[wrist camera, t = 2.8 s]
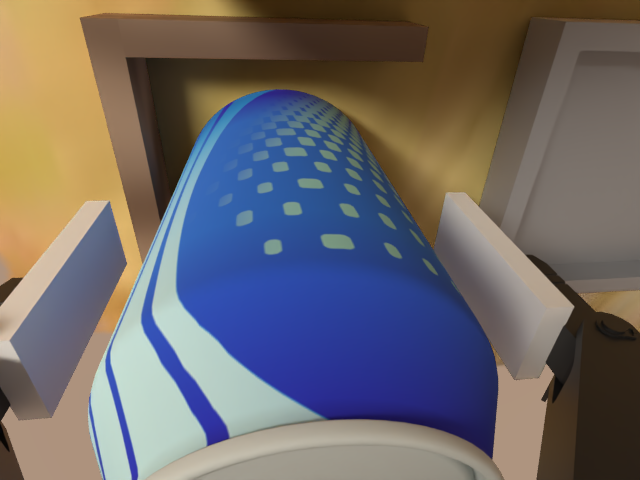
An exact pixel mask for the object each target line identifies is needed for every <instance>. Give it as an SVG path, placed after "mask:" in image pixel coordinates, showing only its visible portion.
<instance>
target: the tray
mask: <svg viewBox="0 0 640 480" xmlns="http://www.w3.org/2000/svg"><path fill="white" fill-rule="evenodd" d="M479 208H480V209H481V210H482V211H483V212H484V213H485V214H486V215H487V216H488V217H489V218H490V219H491V220H492V221H493V222H494V223H495V224H496V225H497V226H498V227H499V228H500V229H501V230H502V232H503V233H504V234H505V235H506V236H507V237H508V238H509V239H510V240H511V241H512V242H513V243H514V244H515V245H516V246H517V247H518V248H519V249H520V250H521V251H522V252H523V253H524V254H525V255H534V256H535V257H537V258H539V259H540V260H542V261H544V262H545V263H547V264H548V265H549V266H550V267H551V268H552V269H553V270H554V271H555V272H556V273H557V276H560V277H561V278H562V279H563V280H564V281H565V284H568V285H569V286H570V287H571V288H572V289H573V290H574V291H575V292H576V293H592V292H610V291H628V290H640V20H609V19H576V18H543V17H531V21H530V24H529V28H528V32H527V35H526V39H525V42H524V46H523V50H522V53H521V57H520V60H519V64H518V68H517V71H516V75H515V78H514V82H513V86H512V89H511V93H510V97H509V100H508V104H507V107H506V111H505V115H504V118H503V122H502V125H501V129H500V133H499V136H498V140H497V143H496V147H495V151H494V154H493V158H492V162H491V165H490V169H489V172H488V176H487V180H486V183H485V187H484V190H483V194H482V198H481V201H480V205H479Z"/></svg>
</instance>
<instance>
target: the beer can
mask: <svg viewBox="0 0 640 480" xmlns="http://www.w3.org/2000/svg"><path fill="white" fill-rule="evenodd" d="M497 398H498V374H497V367H496V361H495V356H494V353H493V350H492V347H491V345H490V342H489V340H488V338H487V336H486V334H485V332H484V330H483V328H482V326H481V325H480V323H479V321H478V320H477V318H476V317H475V315H474V313H473V312H472V310H471V309H470V307H469V306H468V304H467V302H466V301H465V299H464V298H463V296H462V295H461V293H460V291H459V290H458V288H457V287H456V285H455V283H454V282H453V280H452V279H451V277H450V276H449V274H448V272H447V271H446V269H445V268H444V266H443V264H442V263H441V261H440V260H439V258H438V257H437V255H436V253H435V252H434V250H433V249H432V247H431V246H430V244H429V242H428V241H427V239H426V238H425V236H424V234H423V233H422V231H421V230H420V228H419V227H418V225H417V223H416V222H415V220H414V219H413V217H412V216H411V214H410V212H409V211H408V209H407V208H406V206H405V204H404V203H403V201H402V200H401V198H400V197H399V195H398V193H397V192H396V190H395V189H394V187H393V186H392V184H391V182H390V181H389V179H388V178H387V176H386V174H385V173H384V171H383V170H382V168H381V167H380V165H379V163H378V162H377V160H376V159H375V157H374V155H373V154H372V152H371V151H370V149H369V148H368V146H367V144H366V143H365V141H364V140H363V138H362V137H361V135H360V133H359V132H358V130H357V129H356V127H355V126H354V125H353V123H352V122H351V121H350V120H349V119H348V118H347V117H346V116H345V115H344V114H343V113H342V112H341V111H340V110H338V109H337V108H336V107H334V106H333V105H331V104H330V103H328V102H326V101H325V100H323V99H320V98H318V97H316V96H313V95H310V94H307V93H304V92H299V91H294V90H282V89H275V90H265V91H260V92H255V93H252V94H249V95H246V96H243V97H241V98H239V99H237V100H235V101H233V102H231V103H229V104H228V105H226V106H225V107H224V108H222V109H221V110H220V111H218V112H217V113H216V114H215V115H214V116H213V117H212V118H211V119H210V120H209V121H208V122H207V124H206V125H205V127H204V128H203V129H202V131H201V133H200V134H199V136H198V138H197V140H196V142H195V145H194V147H193V149H192V152H191V154H190V156H189V159H188V161H187V163H186V166H185V168H184V170H183V173H182V175H181V177H180V179H179V182H178V184H177V186H176V189H175V191H174V193H173V196H172V198H171V200H170V203H169V205H168V207H167V210H166V212H165V214H164V217H163V219H162V221H161V224H160V226H159V228H158V230H157V233H156V235H155V237H154V240H153V242H152V244H151V247H150V249H149V251H148V254H147V256H146V258H145V261H144V263H143V265H142V268H141V270H140V272H139V274H138V277H137V279H136V281H135V284H134V286H133V288H132V291H131V293H130V295H129V298H128V300H127V302H126V305H125V307H124V309H123V312H122V314H121V316H120V319H119V321H118V323H117V325H116V328H115V330H114V332H113V335H112V337H111V340H110V342H109V344H108V347H107V349H106V351H105V353H104V356H103V358H102V360H101V363H100V365H99V367H98V370H97V372H96V374H95V379H94V382H93V386H92V389H91V393H90V397H89V408H88V422H89V433H90V438H91V441H92V445H93V448H94V452H95V455H96V459H97V462H98V466H99V469H100V473H101V476H102V479H103V480H504V478H503V476H502V474H501V472H500V470H499V469H498V467H497V466H496V464H495V463H494V462H493V460H492V457H493V445H494V433H495V422H496V410H497Z"/></svg>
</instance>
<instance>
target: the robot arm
mask: <svg viewBox="0 0 640 480" xmlns="http://www.w3.org/2000/svg"><path fill="white" fill-rule="evenodd" d="M434 252H435V253H436V255H437V257H438V258H439V260H440V261H441V263H442V264H443V266H444V268H445V269H446V271H447V272H448V274H449V276H450V277H451V279H452V280H453V282H454V283H455V285H456V287H457V288H458V290H459V291H460V293H461V295H462V296H463V298H464V299H465V301H466V302H467V304H468V306H469V307H470V309H471V310H472V312H473V313H474V315H475V317H476V318H477V320H478V321H479V323H480V325H481V326H482V328H483V330H484V332H485V334H486V336H487V337H488V339H489V341H490V342H491V344H492V345H493V347H494V348H495V350H496V352H497V353H498V355H499V356H500V358H501V360H502V361H503V363H504V364H505V366H506V367H507V369H508V371H509V372H510V374H511V375H512V377H513V379H514V380H520V379H532V378H539V377H540V375H541V373H542V371H543V369H544V367H545V365H546V363H547V365H548V366H549V367H550V369H551V370H552V372H553V373H554V376H553V378H552V380H551V382H550V384H549V386H548V388H547V390H546V392H545V393H544V395H543V397H542V399H541V400H542V401H544V402H545V401H546V400H547V398H548V401H547V408H546V415H545V423H544V430H543V437H542V444H541V451H540V459H539V465H538V473H537V480H640V333H639V332H638V331H637V330H636V329H635V328H634V327H633V326H632V325H631V324H630V323H628V322H626V321H625V320H623V319H621V318H619V317H617V316H614V315H612V314H608V313H604V312H595V311H594V310H593V309H592V308H591V307H590V306H589V305H588V304H587V303H586V302H585V301H584V300H583V299H582V298H581V297H580V296H579V295H578V294H577V293H576V292H575V291H574V290H573V289H572V288H571V287H570V286H569V285H568V284H565V281H564V280H563V279H562V278H561V277H560V276H557V273H556V272H555V271H554V270H553V269H552V268H551V267H550V266H549V265H548V264H547V263H545V262H544V261H542V260H540V259H539V258H537V257H535V256H534V255H525V254H524V253H523V252H522V251H521V250H520V249H519V248H518V247H517V246H516V245H515V244H514V243H513V242H512V241H511V240H510V239H509V238H508V237H507V236H506V235H505V234H504V233H503V232H502V230H501V229H500V228H499V227H498V226H497V225H496V224H495V223H494V222H493V221H492V220H491V219H490V218H489V217H488V216H487V215H486V214H485V213H484V212H483V211H482V210H481V209H480V208H479V207H478V205H477V204H476V203H475V202H474V201H473V200H472V199H471V198H470V197H469V196H468V195H467V194H466V193H465V192H453V193H446V196H445V200H444V205H443V209H442V214H441V218H440V223H439V227H438V232H437V236H436V241H435V245H434ZM126 265H127V262H126V258H125V255H124V251H123V248H122V244H121V241H120V237H119V233H118V230H117V226H116V223H115V219H114V216H113V212H112V209H111V205H110V201H86V202H85V203H84V205H83V206H82V207H81V208H80V209H79V211H78V212H77V213H76V214H75V216H74V217H73V218H72V219H71V220H70V222H69V223H68V224H67V225H66V227H65V228H64V229H63V230H62V232H61V233H60V234H59V235H58V236H57V238H56V239H55V240H54V241H53V243H52V244H51V245H50V246H49V247H48V249H47V250H46V251H45V252H44V254H43V255H42V256H41V257H40V258H39V260H38V261H37V262H36V263H35V265H34V266H33V267H32V268H31V269H30V271H29V272H28V273H27V274H26V276H25V277H24V278H12V279H10V280H9V281H7V282H6V283H4V284H3V285H1V286H0V480H24V478H23V475H22V472H21V470H20V467H19V464H18V461H17V458H16V456H15V453H14V450H13V447H12V444H11V441H10V438H9V436H8V433H7V430H6V428H5V426H4V425H3V423H2V422H1V420H2V418H3V417H4V415H5V413H6V412H7V410H8V408H9V407H11V409H12V410H13V412H14V413H15V415H16V417H17V418H18V420H30V419H41V418H51V417H52V416H53V414H54V412H55V410H56V407H57V405H58V404H59V401H60V399H61V397H62V395H63V393H64V391H65V389H66V387H67V385H68V383H69V381H70V379H71V377H72V375H73V373H74V371H75V369H76V367H77V365H78V363H79V361H80V358H81V356H82V354H83V352H84V350H85V348H86V346H87V344H88V342H89V340H90V338H91V336H92V334H93V332H94V330H95V328H96V326H97V324H98V322H99V320H100V318H101V316H102V314H103V312H104V310H105V308H106V305H107V303H108V301H109V299H110V297H111V295H112V293H113V291H114V289H115V287H116V285H117V283H118V281H119V279H120V277H121V275H122V273H123V271H124V269H125V267H126Z"/></svg>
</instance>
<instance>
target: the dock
mask: <svg viewBox="0 0 640 480" xmlns="http://www.w3.org/2000/svg"><path fill="white" fill-rule="evenodd" d="M80 20H81V24H82V28H83V32H84V36H85V40H86V44H87V48H88V52H89V56H90V60H91V63H92V67H93V71H94V75H95V79H96V83H97V87H98V91H99V95H100V99H101V103H102V107H103V110H104V114H105V118H106V122H107V126H108V130H109V134H110V138H111V142H112V146H113V150H114V154H115V158H116V161H117V165H118V169H119V173H120V177H121V181H122V185H123V189H124V193H125V197H126V201H127V205H128V208H129V212H130V216H131V220H132V224H133V228H134V232H135V236H136V240H137V244H138V248H139V252H140V255H141V259H142V263H144V261H145V258H146V256H147V254H148V251H149V249H150V247H151V244H152V242H153V240H154V237H155V235H156V233H157V230H158V228H159V226H160V224H161V221H162V219H163V217H164V214H165V212H166V210H167V207H168V205H169V203H170V200H171V193H170V188H169V183H168V177H167V172H166V167H165V161H164V156H163V151H162V145H161V140H160V135H159V129H158V124H157V119H156V113H155V108H154V103H153V97H152V92H151V86H150V81H149V76H148V70H147V65H146V60H145V58H206V59H269V60H332V61H395V62H423V59H424V53H425V47H426V40H427V34H428V28H429V27H427V26H423V25H419V24H416V23H412V22H406V21H370V20H334V19H298V18H262V17H226V16H190V15H154V14H119V13H103V14H97V15H92V16H87V17H81V18H80Z"/></svg>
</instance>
